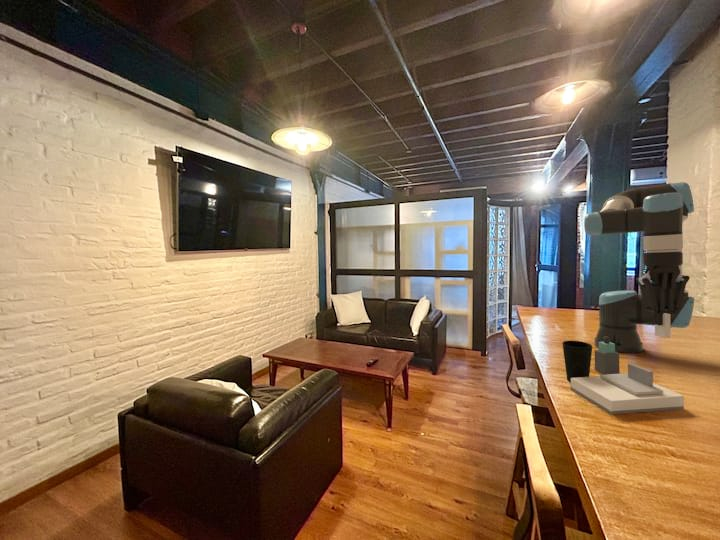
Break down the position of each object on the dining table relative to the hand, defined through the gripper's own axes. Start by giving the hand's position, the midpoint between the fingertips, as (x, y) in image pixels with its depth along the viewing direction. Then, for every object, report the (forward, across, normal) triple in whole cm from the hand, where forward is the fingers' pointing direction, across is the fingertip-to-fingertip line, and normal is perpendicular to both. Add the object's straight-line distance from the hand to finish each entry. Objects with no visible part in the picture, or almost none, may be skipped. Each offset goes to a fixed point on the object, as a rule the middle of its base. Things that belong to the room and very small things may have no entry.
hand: (662, 336), depth 81 cm
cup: (+17, +15, -12) cm, 26 cm away
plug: (+17, +1, -17) cm, 24 cm away
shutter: (+13, +9, 0) cm, 16 cm away
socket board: (+17, +11, 0) cm, 20 cm away
